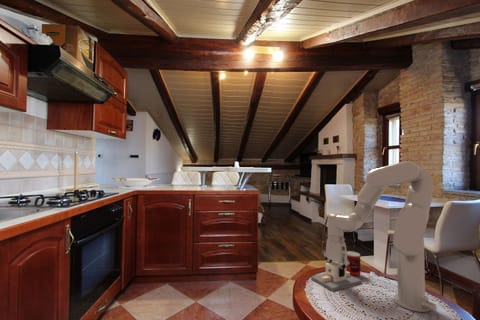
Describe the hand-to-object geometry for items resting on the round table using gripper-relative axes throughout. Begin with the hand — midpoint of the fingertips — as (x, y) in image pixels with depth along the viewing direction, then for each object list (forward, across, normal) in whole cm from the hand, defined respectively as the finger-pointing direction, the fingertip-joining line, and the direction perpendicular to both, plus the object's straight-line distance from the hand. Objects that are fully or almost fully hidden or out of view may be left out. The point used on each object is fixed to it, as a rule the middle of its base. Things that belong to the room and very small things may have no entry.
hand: (336, 273), depth 121 cm
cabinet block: (+2, 0, 0) cm, 2 cm away
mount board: (+4, 0, 0) cm, 4 cm away
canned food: (+4, +3, -16) cm, 17 cm away
